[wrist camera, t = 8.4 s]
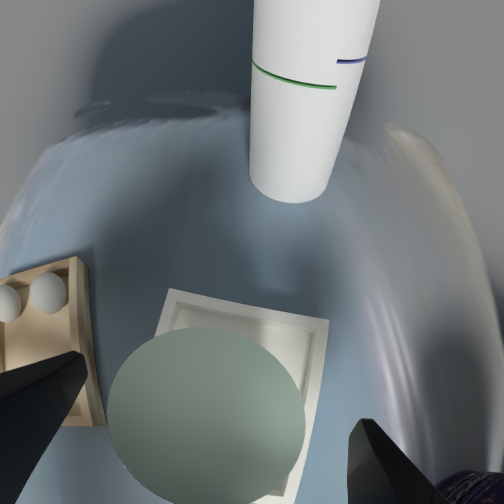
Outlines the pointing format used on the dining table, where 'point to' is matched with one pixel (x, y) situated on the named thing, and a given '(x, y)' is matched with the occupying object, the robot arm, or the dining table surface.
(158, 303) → the dining table surface
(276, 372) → the sage green tall cylinder
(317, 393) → the white tray
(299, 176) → the cylindrical container
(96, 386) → the wooden tray
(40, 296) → the white ball
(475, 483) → the storage jar
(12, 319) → the pebble
